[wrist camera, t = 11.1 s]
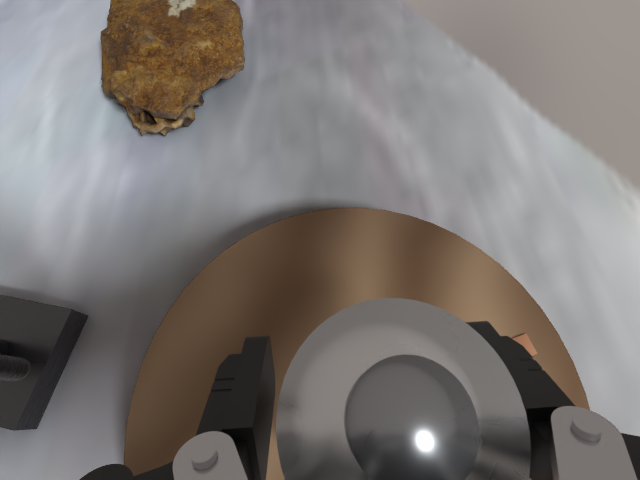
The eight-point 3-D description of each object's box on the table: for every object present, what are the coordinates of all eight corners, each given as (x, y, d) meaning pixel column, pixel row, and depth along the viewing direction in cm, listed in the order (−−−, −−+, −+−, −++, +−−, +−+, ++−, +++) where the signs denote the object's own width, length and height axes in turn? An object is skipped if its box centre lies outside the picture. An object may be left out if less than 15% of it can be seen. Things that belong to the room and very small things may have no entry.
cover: (255, 450, 16) (147, 525, 6) (324, 312, 19) (326, 204, 9) (401, 536, 15) (563, 807, 5) (454, 375, 17) (635, 336, 7)
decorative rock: (268, 133, 28) (238, 12, 34) (262, 88, 24) (229, -38, 31) (109, 161, 26) (108, 29, 33) (76, 117, 22) (83, -21, 29)
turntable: (44, 525, 17) (17, 537, 15) (273, 171, 24) (269, 156, 23) (513, 870, 12) (537, 931, 11) (613, 312, 20) (635, 304, 18)
